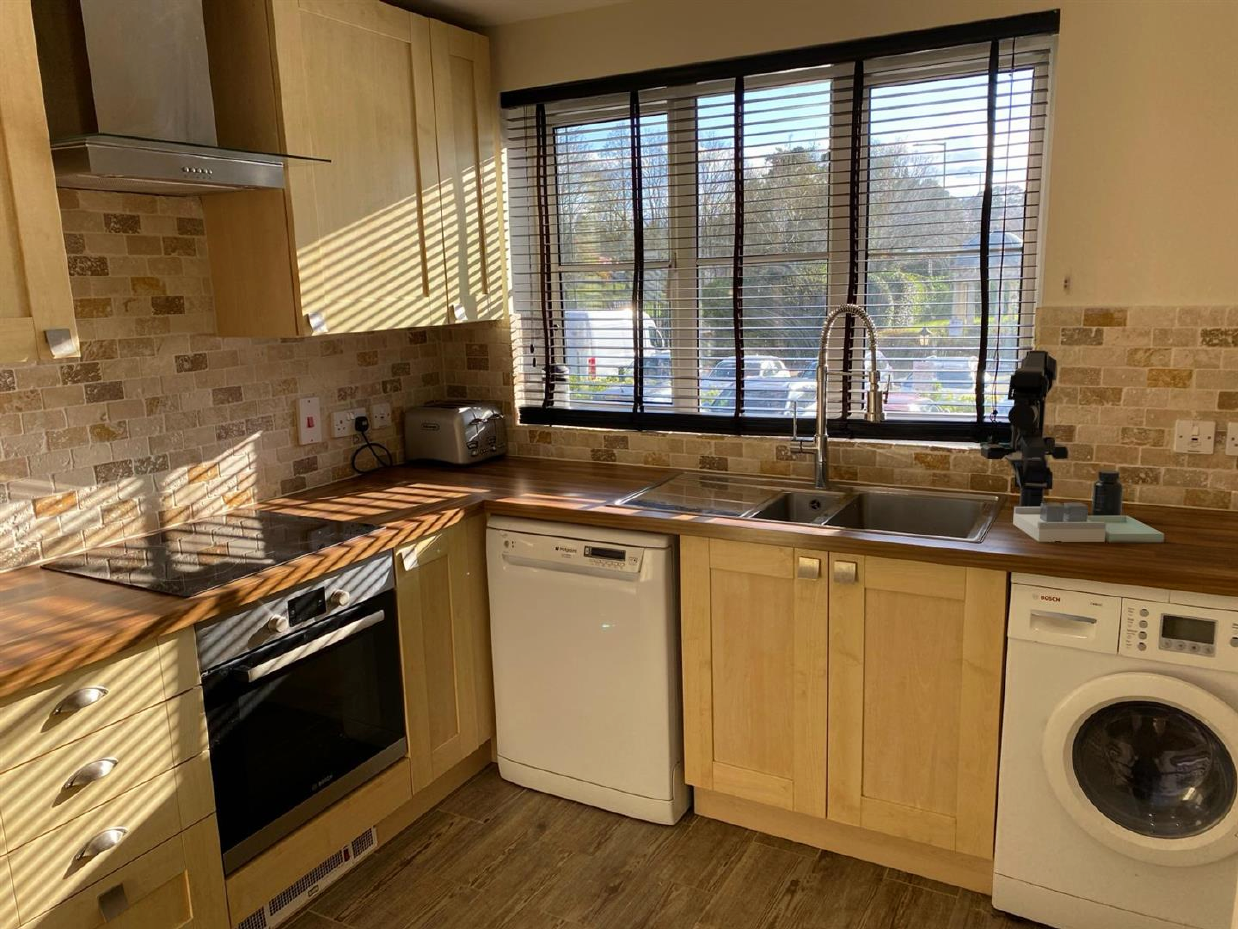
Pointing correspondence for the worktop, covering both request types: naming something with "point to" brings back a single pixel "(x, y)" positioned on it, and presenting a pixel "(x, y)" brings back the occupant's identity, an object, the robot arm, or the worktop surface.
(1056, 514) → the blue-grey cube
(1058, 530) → the channel
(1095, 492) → the supplement bottle
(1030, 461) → the robot arm
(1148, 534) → the tray
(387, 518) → the worktop surface
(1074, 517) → the gray cube
